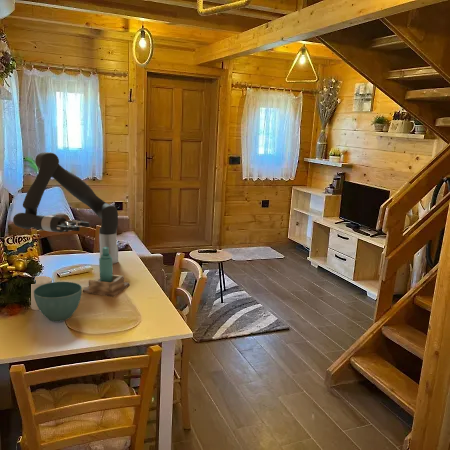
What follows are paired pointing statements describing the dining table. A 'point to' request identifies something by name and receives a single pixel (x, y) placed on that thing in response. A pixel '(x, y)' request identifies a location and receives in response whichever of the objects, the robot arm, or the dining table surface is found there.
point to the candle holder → (39, 281)
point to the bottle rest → (107, 286)
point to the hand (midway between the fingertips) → (84, 226)
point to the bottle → (106, 266)
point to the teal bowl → (58, 299)
